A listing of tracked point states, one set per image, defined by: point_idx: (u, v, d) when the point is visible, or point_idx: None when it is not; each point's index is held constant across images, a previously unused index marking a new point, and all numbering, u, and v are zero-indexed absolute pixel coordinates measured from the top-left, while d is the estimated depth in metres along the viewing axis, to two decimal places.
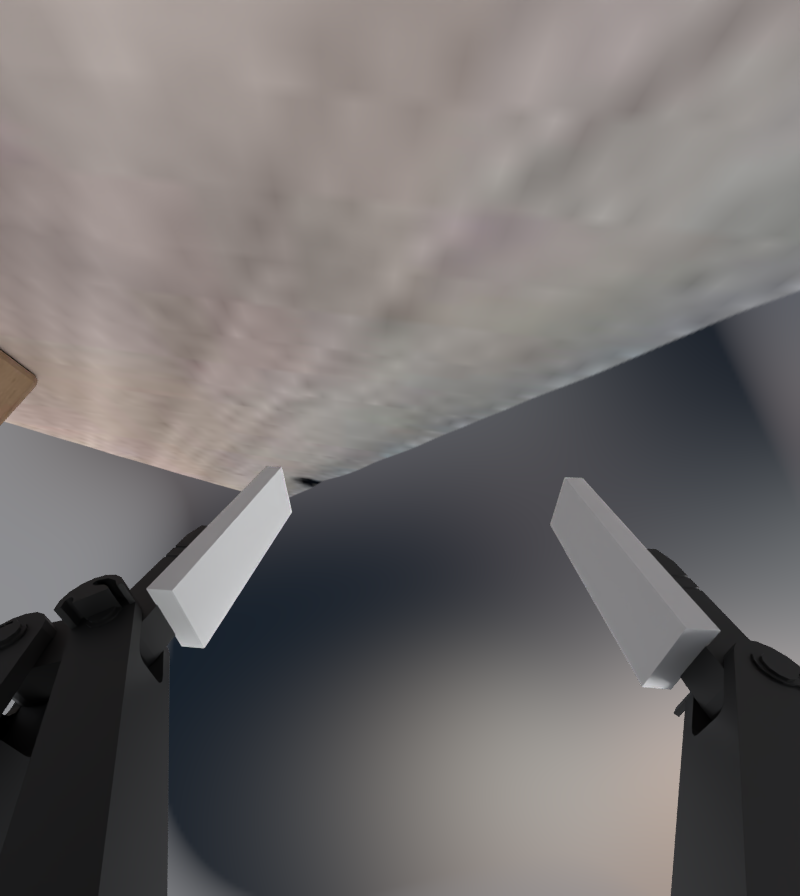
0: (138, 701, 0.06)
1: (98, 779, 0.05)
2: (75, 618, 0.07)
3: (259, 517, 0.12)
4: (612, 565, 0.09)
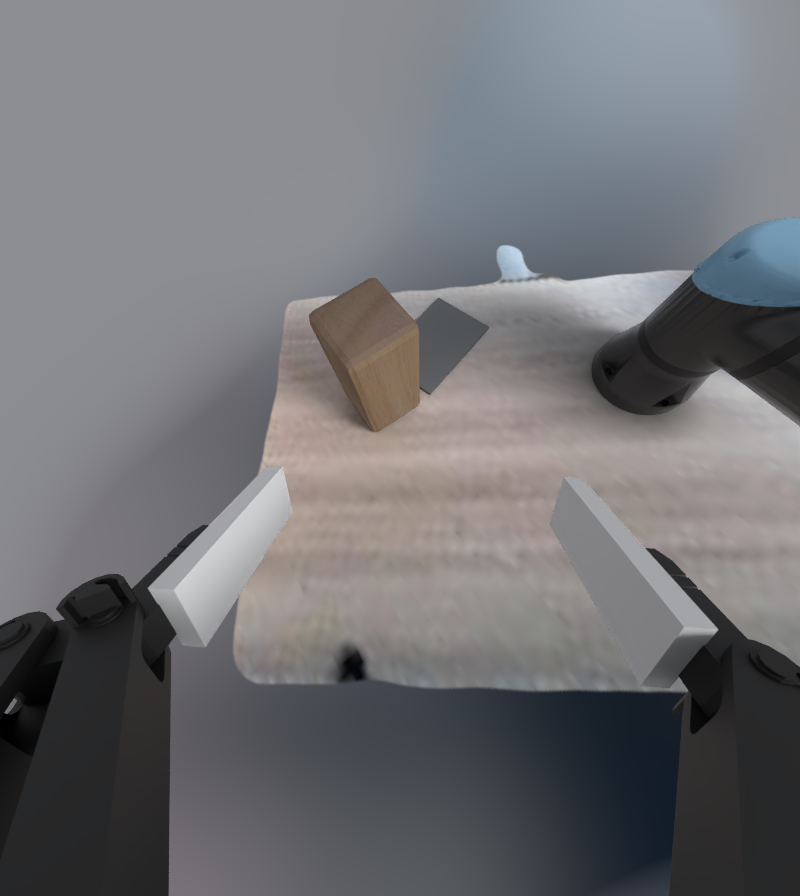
0: (140, 700, 0.06)
1: (101, 777, 0.05)
2: (77, 617, 0.07)
3: (260, 517, 0.12)
4: (611, 564, 0.09)
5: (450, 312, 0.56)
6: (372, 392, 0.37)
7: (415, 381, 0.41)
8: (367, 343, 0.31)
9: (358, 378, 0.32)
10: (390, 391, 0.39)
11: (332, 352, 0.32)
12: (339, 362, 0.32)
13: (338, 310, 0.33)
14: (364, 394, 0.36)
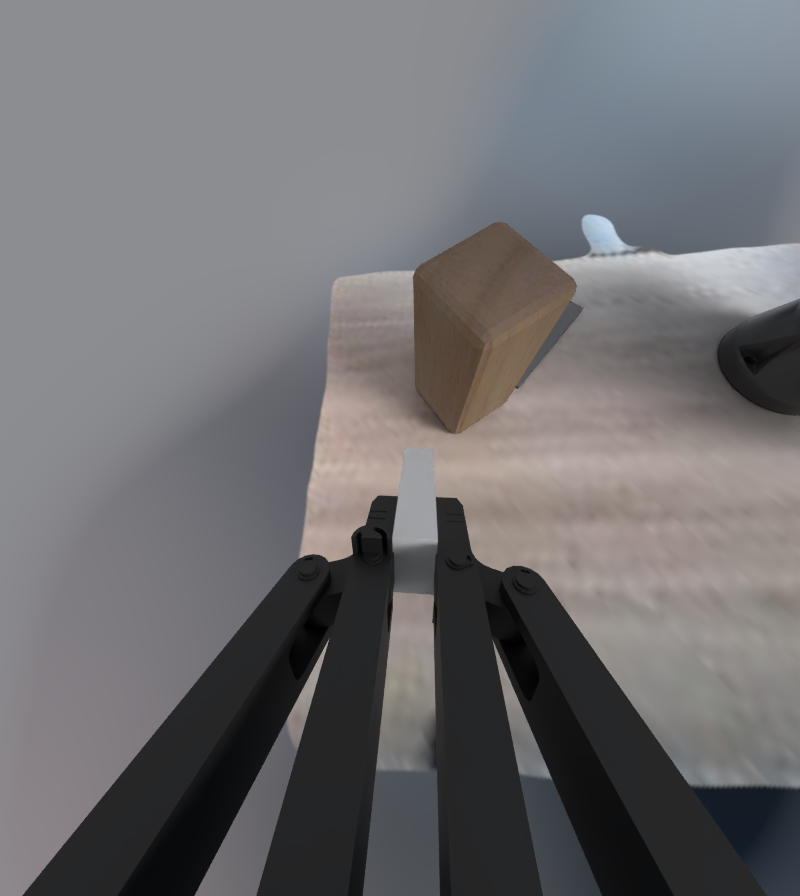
0: (382, 648, 0.07)
1: (361, 709, 0.05)
2: (357, 548, 0.09)
3: None
4: None
5: None
6: (486, 380, 0.27)
7: (525, 368, 0.32)
8: (510, 307, 0.22)
9: (489, 358, 0.23)
10: (500, 381, 0.30)
11: (455, 321, 0.22)
12: (467, 334, 0.22)
13: (459, 263, 0.23)
14: (478, 383, 0.27)
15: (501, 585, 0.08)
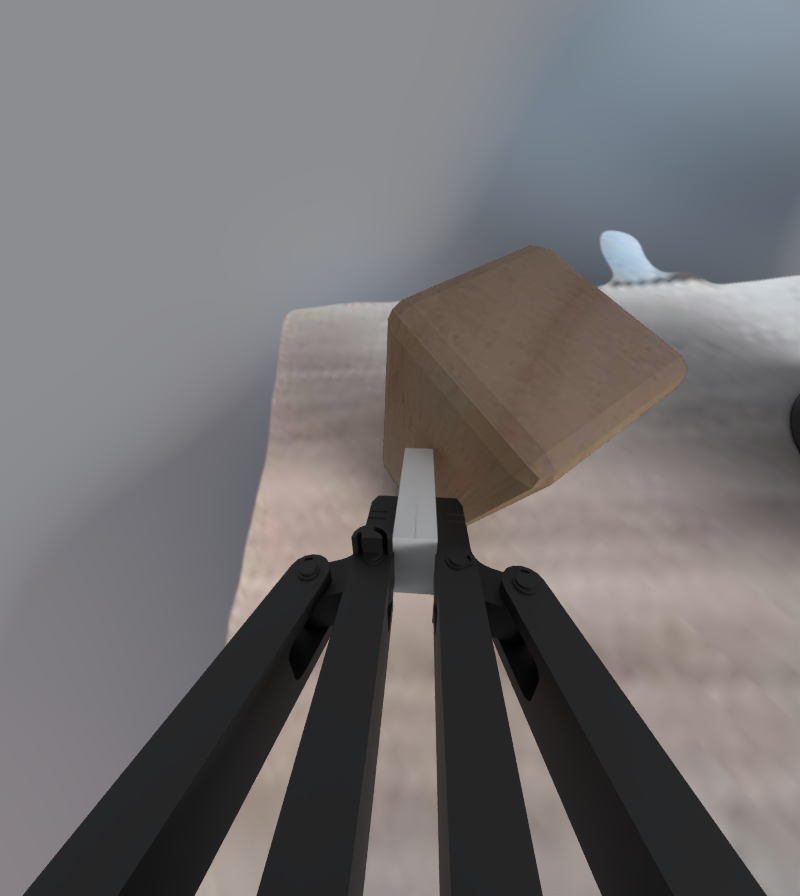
0: (382, 648, 0.07)
1: (362, 709, 0.05)
2: (357, 548, 0.09)
3: None
4: None
5: None
6: None
7: None
8: (584, 402, 0.11)
9: None
10: None
11: (471, 417, 0.11)
12: (497, 450, 0.10)
13: (476, 304, 0.12)
14: (495, 511, 0.15)
15: (501, 585, 0.08)
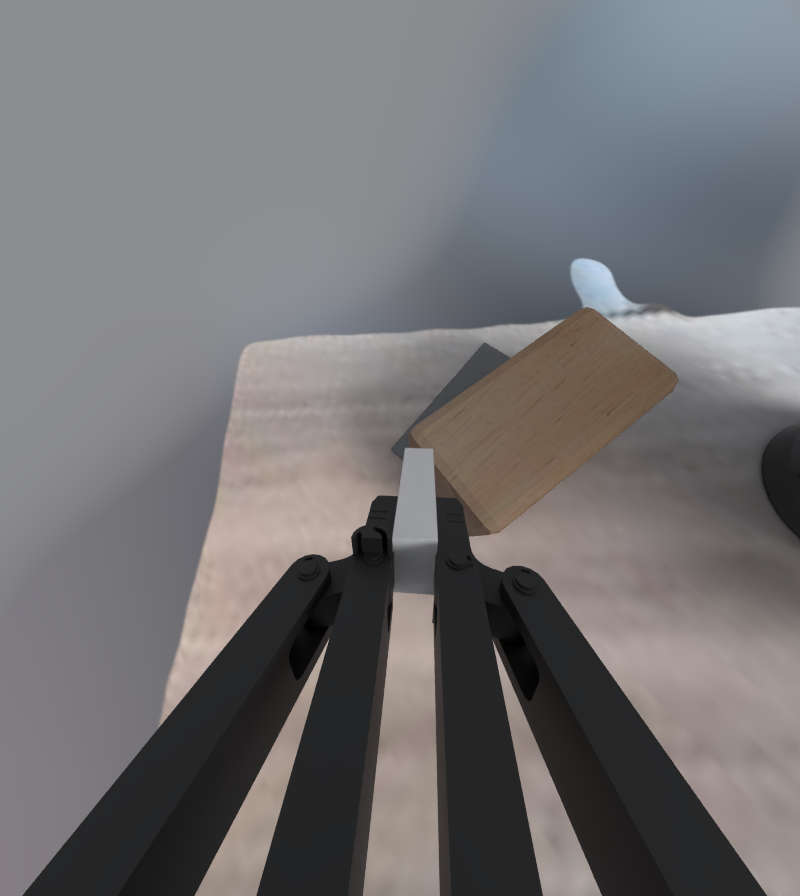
0: (382, 648, 0.07)
1: (361, 709, 0.05)
2: (357, 548, 0.09)
3: None
4: None
5: None
6: None
7: None
8: None
9: None
10: None
11: (644, 352, 0.23)
12: (660, 365, 0.22)
13: None
14: (627, 426, 0.21)
15: (501, 585, 0.08)
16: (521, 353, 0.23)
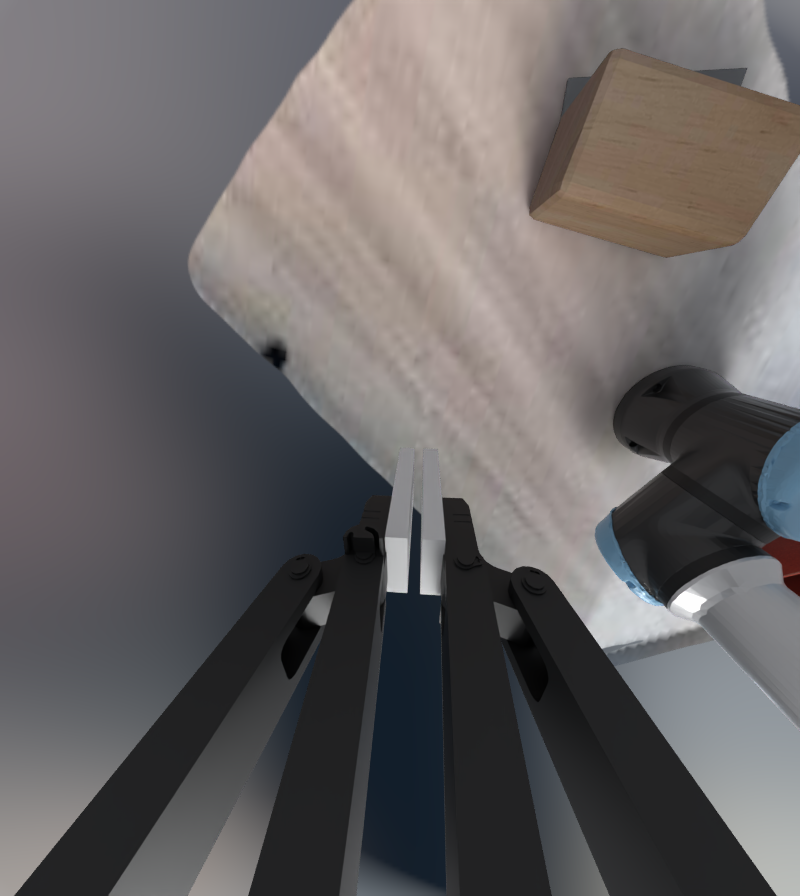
0: (374, 647, 0.07)
1: (354, 707, 0.05)
2: (349, 548, 0.09)
3: (412, 490, 0.13)
4: (422, 509, 0.12)
5: None
6: (667, 234, 0.30)
7: (597, 236, 0.36)
8: None
9: (713, 243, 0.29)
10: (628, 232, 0.32)
11: (765, 200, 0.27)
12: (751, 220, 0.28)
13: None
14: (680, 232, 0.29)
15: (510, 585, 0.08)
16: (740, 89, 0.24)
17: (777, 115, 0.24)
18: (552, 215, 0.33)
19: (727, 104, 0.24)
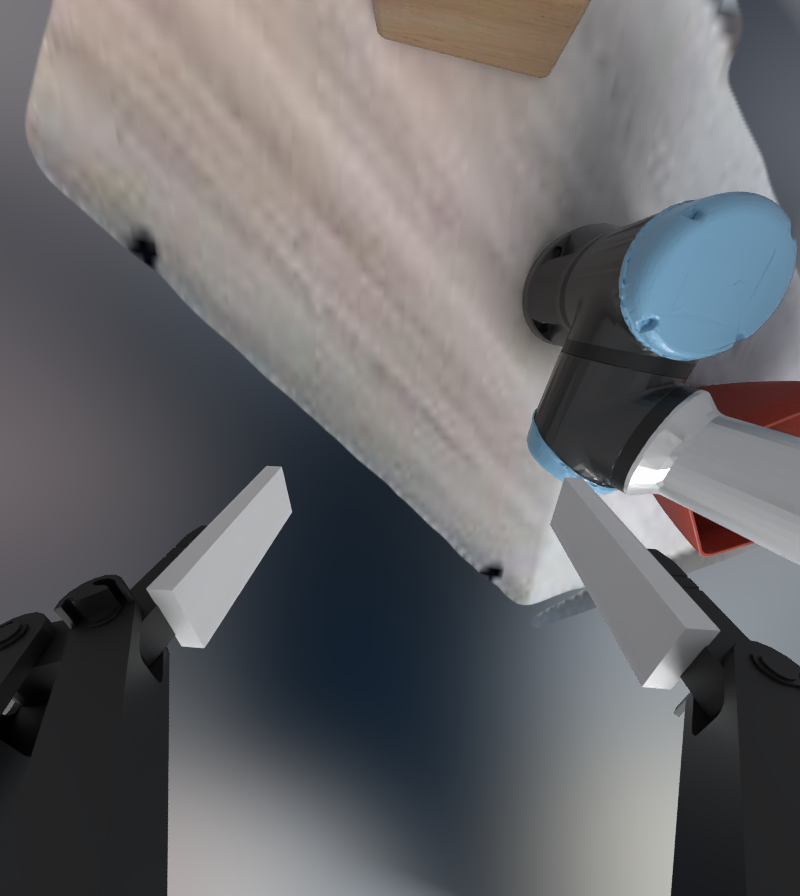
0: (138, 701, 0.06)
1: (99, 779, 0.05)
2: (75, 618, 0.07)
3: (259, 517, 0.12)
4: (612, 565, 0.09)
5: None
6: (510, 6, 0.25)
7: (458, 54, 0.31)
8: None
9: (562, 7, 0.24)
10: (476, 24, 0.27)
11: None
12: None
13: None
14: None
15: None
16: None
17: None
18: (391, 15, 0.28)
19: None
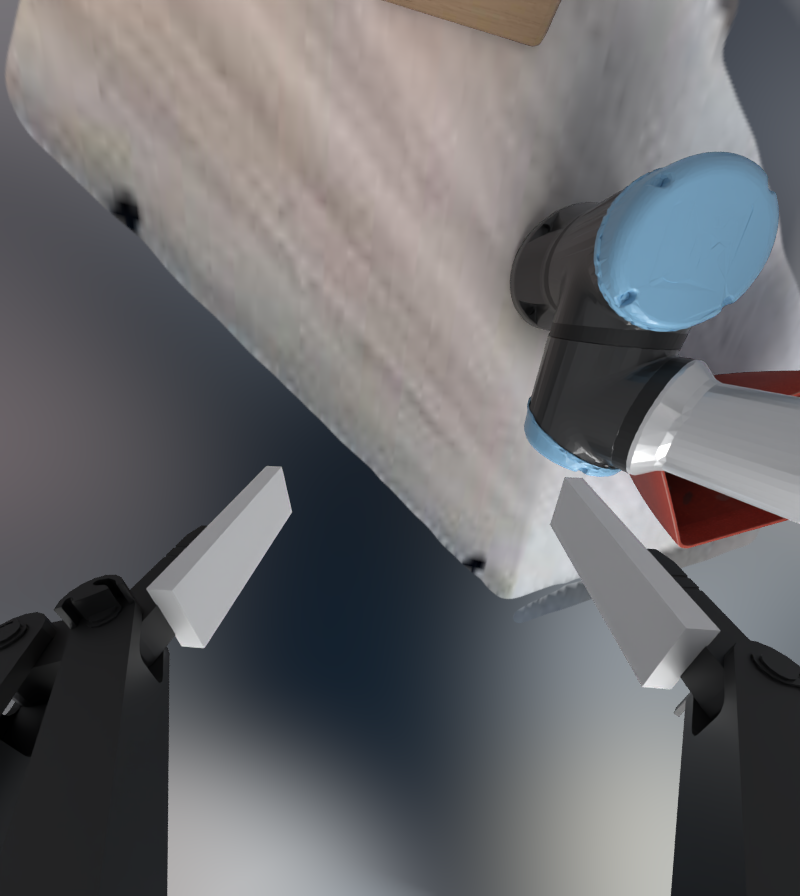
0: (138, 701, 0.06)
1: (98, 779, 0.05)
2: (75, 618, 0.07)
3: (259, 517, 0.12)
4: (612, 565, 0.09)
5: None
6: None
7: (448, 16, 0.30)
8: None
9: None
10: None
11: None
12: None
13: None
14: None
15: None
16: None
17: None
18: None
19: None
